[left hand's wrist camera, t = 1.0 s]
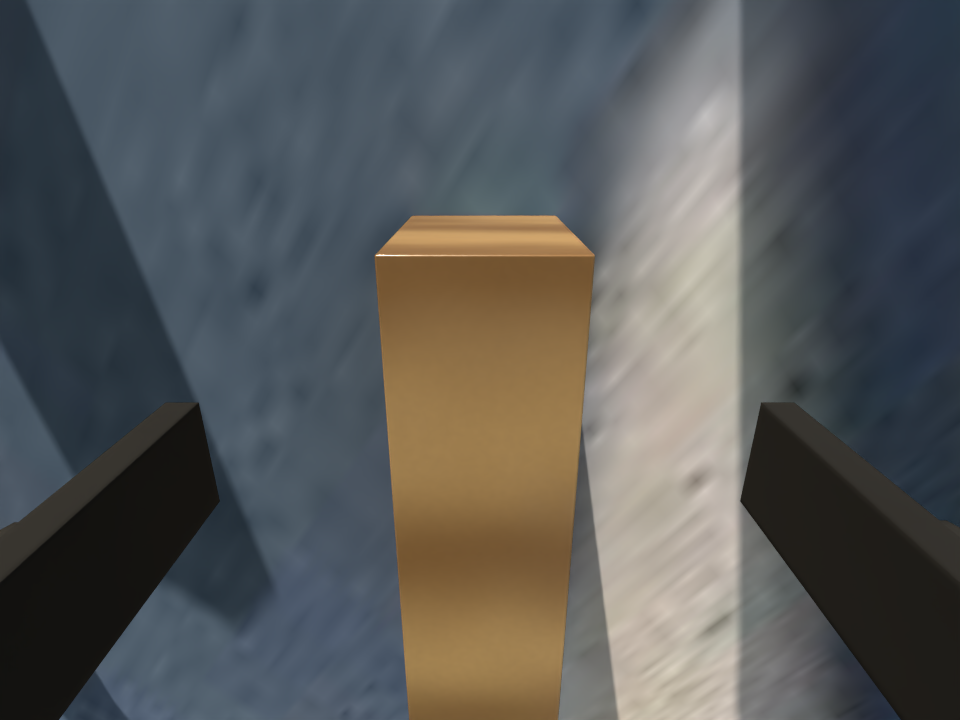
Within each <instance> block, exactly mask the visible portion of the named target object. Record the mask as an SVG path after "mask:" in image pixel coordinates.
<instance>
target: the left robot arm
mask: <svg viewBox="0 0 960 720" xmlns="http://www.w3.org/2000/svg"><path fill="white" fill-rule="evenodd" d="M219 501H220V500H219V495H218V491H217V486H216V481H215V477H214V472H213V467H212V463H211V458H210V453H209V449H208V444H207V439H206V435H205V430H204V425H203V421H202V416H201V411H200V406H199V403H165V404H164V405H162V406H161V407H160V408H159V409H157V410H156V411H155V412H154V413H152V414H151V415H150V416H149V417H147V418H146V419H145V420H144V421H143V422H141V423H140V424H139V425H138V426H136V427H135V428H134V429H133V430H131V431H130V432H129V433H128V434H127V435H125V436H124V437H123V438H122V439H120V440H119V441H118V442H117V443H115V444H114V445H113V446H112V447H111V448H109V449H108V450H107V451H106V452H104V453H103V454H102V455H101V456H99V457H98V458H97V459H96V460H95V461H93V462H92V463H91V464H90V465H88V466H87V467H86V468H85V469H83V470H82V471H81V472H80V473H79V474H77V475H76V476H75V477H74V478H72V479H71V480H70V481H69V482H67V483H66V484H65V485H64V486H63V487H61V488H60V489H59V490H58V491H56V492H55V493H54V494H53V495H51V496H50V497H49V498H48V499H47V500H45V501H44V502H43V503H42V504H40V505H39V506H38V507H37V508H35V509H34V510H33V511H32V512H31V513H29V514H28V515H27V516H26V517H24V518H23V519H22V520H21V521H19V522H14V523H12V524H10V525H9V526H7V527H5V528H3V529H1V530H0V720H59V719H60V717H61V716H62V715H63V713H64V712H65V711H66V709H67V708H68V707H69V705H70V704H71V702H72V701H73V700H74V698H75V697H76V696H77V694H78V693H79V692H80V690H81V689H82V688H83V686H84V685H85V683H86V682H87V681H88V679H89V678H90V677H91V675H92V674H93V673H94V671H95V670H96V668H97V667H98V666H99V664H100V663H101V662H102V660H103V659H104V658H105V656H106V655H107V654H108V652H109V651H110V649H111V648H112V647H113V645H114V644H115V643H116V641H117V640H118V639H119V637H120V636H121V635H122V633H123V632H124V630H125V629H126V628H127V626H128V625H129V624H130V622H131V621H132V620H133V618H134V617H135V616H136V614H137V613H138V611H139V610H140V609H141V607H142V606H143V605H144V603H145V602H146V601H147V599H148V598H149V596H150V595H151V594H152V592H153V591H154V590H155V588H156V587H157V586H158V584H159V583H160V582H161V580H162V579H163V577H164V576H165V575H166V573H167V572H168V571H169V569H170V568H171V567H172V565H173V564H174V563H175V561H176V560H177V558H178V557H179V556H180V554H181V553H182V552H183V550H184V549H185V548H186V546H187V545H188V544H189V542H190V541H191V539H192V538H193V537H194V535H195V534H196V533H197V531H198V530H199V529H200V527H201V526H202V524H203V523H204V522H205V520H206V519H207V518H208V516H209V515H210V514H211V512H212V511H213V510H214V508H215V507H216V505H217V504H218V503H219ZM740 501H741V503H742V504H743V505H744V507H745V508H746V510H747V511H748V512H749V514H750V515H751V516H752V518H753V519H754V520H755V522H756V523H757V524H758V526H759V527H760V529H761V530H762V531H763V533H764V534H765V535H766V537H767V538H768V539H769V541H770V542H771V544H772V545H773V546H774V548H775V549H776V550H777V552H778V553H779V554H780V556H781V557H782V558H783V560H784V561H785V563H786V564H787V565H788V567H789V568H790V569H791V571H792V572H793V573H794V575H795V576H796V577H797V579H798V580H799V582H800V583H801V584H802V586H803V587H804V588H805V590H806V591H807V592H808V594H809V595H810V596H811V598H812V599H813V601H814V602H815V603H816V605H817V606H818V607H819V609H820V610H821V611H822V613H823V614H824V616H825V617H826V618H827V620H828V621H829V622H830V624H831V625H832V626H833V628H834V629H835V630H836V632H837V633H838V635H839V636H840V637H841V639H842V640H843V641H844V643H845V644H846V645H847V647H848V648H849V649H850V651H851V652H852V654H853V655H854V656H855V658H856V659H857V660H858V662H859V663H860V664H861V666H862V667H863V668H864V670H865V671H866V673H867V674H868V675H869V677H870V678H871V679H872V681H873V682H874V683H875V685H876V686H877V688H878V689H879V690H880V692H881V693H882V694H883V696H884V697H885V698H886V700H887V701H888V702H889V704H890V705H891V707H892V708H893V709H894V711H895V712H896V713H897V715H898V716H899V717H900V719H901V720H960V528H959V527H958V526H956V525H954V524H952V523H950V522H948V521H939V520H938V519H937V518H936V517H934V516H933V515H932V514H931V513H929V512H928V511H927V510H926V509H925V508H923V507H922V506H921V505H920V504H918V503H917V502H916V501H915V500H913V499H912V498H911V497H910V496H909V495H907V494H906V493H905V492H904V491H902V490H901V489H900V488H899V487H897V486H896V485H895V484H894V483H893V482H891V481H890V480H889V479H888V478H886V477H885V476H884V475H883V474H881V473H880V472H879V471H878V470H877V469H875V468H874V467H873V466H872V465H870V464H869V463H868V462H867V461H865V460H864V459H863V458H862V457H861V456H859V455H858V454H857V453H856V452H854V451H853V450H852V449H851V448H849V447H848V446H847V445H846V444H845V443H843V442H842V441H841V440H840V439H838V438H837V437H836V436H835V435H833V434H832V433H831V432H830V431H829V430H827V429H826V428H825V427H824V426H822V425H821V424H820V423H819V422H817V421H816V420H815V419H814V418H813V417H811V416H810V415H809V414H808V413H806V412H805V411H804V410H803V409H801V408H800V407H799V406H798V405H796V404H795V403H761V406H760V411H759V416H758V421H757V425H756V430H755V435H754V439H753V444H752V449H751V453H750V458H749V463H748V467H747V472H746V477H745V481H744V486H743V491H742V495H741V500H740Z"/></svg>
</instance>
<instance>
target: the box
mask: <svg viewBox="0 0 960 720" xmlns="http://www.w3.org/2000/svg"><path fill="white" fill-rule="evenodd" d="M594 263H595V255H594V254H593V253H592V252H591V251H590V250H589V249H588V248H587V247H586V246H585V245H584V244H583V243H582V242H581V241H580V240H579V239H578V238H577V237H576V236H575V235H574V234H573V233H572V232H571V231H570V230H569V229H568V228H567V227H566V226H565V225H564V224H563V223H562V222H561V221H560V220H559V219H558V218H557V217H556V216H412V217H411V218H410V219H409V220H408V221H407V222H406V223H405V224H404V225H403V226H402V227H401V228H400V229H399V230H398V231H397V232H396V234H395V235H394V236H393V237H392V238H391V239H390V240H389V241H388V242H387V243H386V244H385V245H384V246H383V247H382V248H381V249H380V250H379V252H378V253H377V254H376V255H375V269H376V282H377V296H378V309H379V322H380V336H381V349H382V362H383V376H384V389H385V403H386V416H387V429H388V443H389V456H390V469H391V483H392V496H393V509H394V523H395V536H396V550H397V563H398V576H399V590H400V603H401V616H402V630H403V643H404V657H405V670H406V683H407V697H408V710H409V720H558V715H559V703H560V690H561V677H562V665H563V652H564V640H565V627H566V615H567V602H568V589H569V577H570V564H571V552H572V539H573V527H574V514H575V502H576V489H577V476H578V464H579V451H580V439H581V426H582V414H583V401H584V388H585V376H586V363H587V351H588V338H589V326H590V313H591V300H592V288H593V275H594Z"/></svg>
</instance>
